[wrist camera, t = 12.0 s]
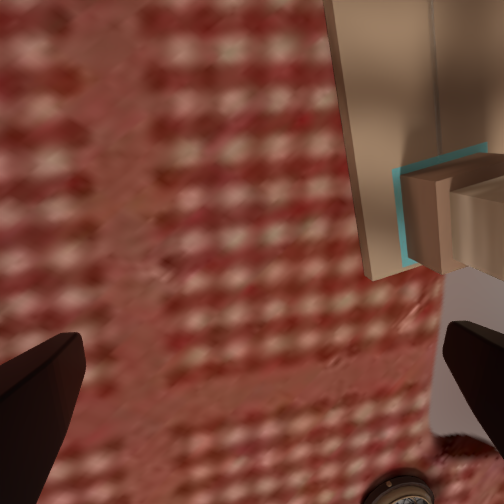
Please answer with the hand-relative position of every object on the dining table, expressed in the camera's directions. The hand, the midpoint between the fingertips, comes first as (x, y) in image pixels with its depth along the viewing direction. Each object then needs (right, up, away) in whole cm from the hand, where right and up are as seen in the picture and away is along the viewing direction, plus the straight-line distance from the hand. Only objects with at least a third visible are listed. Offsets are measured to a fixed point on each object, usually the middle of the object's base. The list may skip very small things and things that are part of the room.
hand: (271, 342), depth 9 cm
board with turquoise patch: (+9, +11, +11) cm, 18 cm away
